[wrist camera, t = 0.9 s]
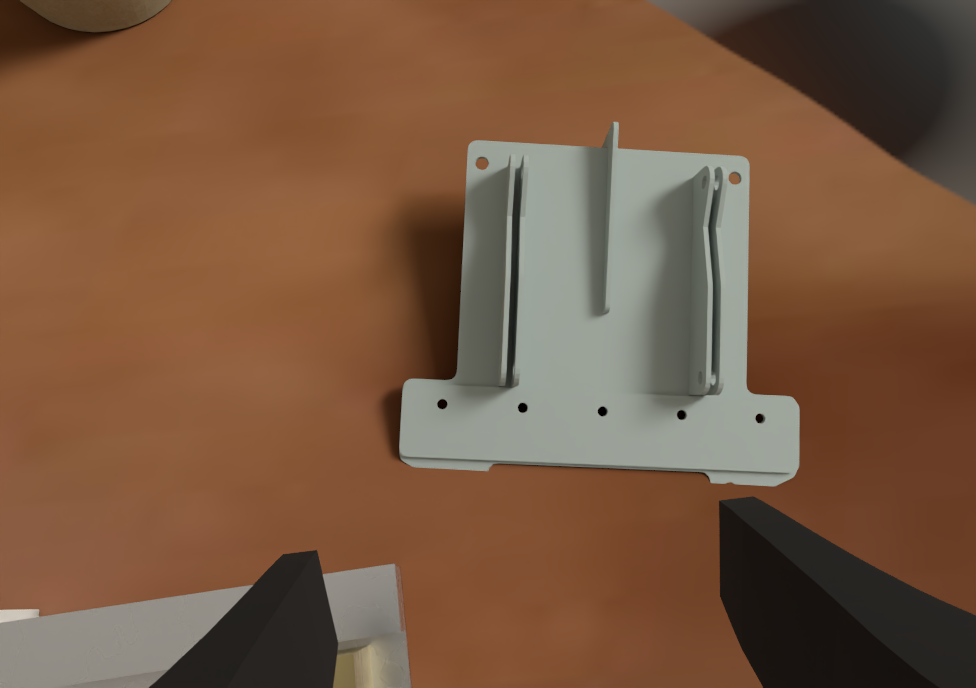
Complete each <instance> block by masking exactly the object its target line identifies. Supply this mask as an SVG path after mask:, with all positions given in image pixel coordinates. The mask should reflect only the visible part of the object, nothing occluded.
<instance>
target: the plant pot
mask: <svg viewBox="0 0 976 688" xmlns="http://www.w3.org/2000/svg"><path fill="white" fill-rule="evenodd" d="M19 1H21V2H22V3H23V4H25V5H26V6H28V7H29V8H31V9H32V10H34V11H35V12H37V13H38V14H39V15H41V16H42V17H44V18H46V19H47V20H49V21H50V22H53V23H55V24H57V25H60V26H62V27H65V28H68V29H73V30H77V31H86V32H105V31H113V30H118V29H123V28H128V27H131V26H133V25H136V24H139V23H141V22H143V21H145V20H147V19H149V18H151V17H152V16H154V15H156V14H157V13H158V12H160V11H161V10H162V9H163V8H165V7H166V6H167V5H168V4H169V3H170V1H171V0H19Z"/></svg>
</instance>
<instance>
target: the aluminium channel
mask: <svg viewBox="0 0 976 688" xmlns="http://www.w3.org/2000/svg"><path fill="white" fill-rule="evenodd" d="M323 579H324V583H325V587H326V592H327V596H328V600H329V605H330V609H331V614H332V618H333V622H334V627H335V631H336V635H337V640H338V650H342V649H349V648H355V647H361V646H367V645H369V647H370V659H371V672H372V685H373V688H412V686H411V675H410V665H409V655H408V644H407V634H406V624H405V613H404V603H403V592H402V582H401V572H400V567H399V566H397V565H396V564H389V565H383V566H376V567H369V568H363V569H356V570H349V571H342V572H336V573H329V574H323ZM252 586H253V585H249V586H242V587H236V588H229V589H222V590H216V591H209V592H202V593H196V594H189V595H182V596H176V597H169V598H162V599H156V600H149V601H142V602H136V603H129V604H122V605H116V606H109V607H102V608H96V609H89V610H82V611H76V612H69V613H62V614H56V615H49V616H42V617H36V618H29V619H22V620H16V621H9V622H2V623H0V688H149V687H150V686H151V685H152V684H153V683H155V682H156V681H157V680H158V679H159V678H160V677H161V676H162V675H164V674H165V673H166V672H167V671H168V670H169V669H170V668H171V667H172V666H173V665H174V664H175V663H176V662H177V661H178V660H179V659H180V658H181V657H182V656H184V655H185V654H186V653H187V652H188V651H189V650H190V649H191V648H192V647H193V646H194V645H195V644H196V643H197V642H198V641H199V640H200V639H201V638H203V637H204V636H205V635H206V634H207V633H208V632H209V631H210V630H211V629H212V628H213V627H214V626H215V625H216V624H217V623H218V621H219V620H220V619H221V618H222V617H223V616H224V615H225V614H226V613H227V612H228V611H229V610H230V609H231V608H232V607H233V606H234V605H235V604H236V603H237V602H238V601H239V600H240V599H241V598H242V597H243V596H244V594H245V593H246V592H247V591H248V590H249V589H250V588H251V587H252Z"/></svg>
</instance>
